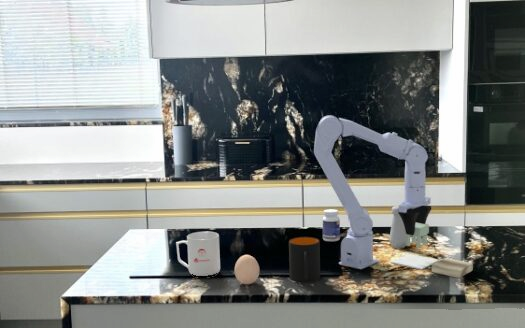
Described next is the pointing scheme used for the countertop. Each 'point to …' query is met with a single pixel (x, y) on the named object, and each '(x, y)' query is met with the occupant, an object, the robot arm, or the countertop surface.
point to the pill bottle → (331, 225)
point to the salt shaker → (397, 230)
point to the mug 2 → (304, 259)
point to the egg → (246, 269)
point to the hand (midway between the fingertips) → (414, 232)
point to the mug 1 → (202, 253)
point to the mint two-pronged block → (418, 235)
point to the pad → (414, 261)
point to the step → (452, 267)
